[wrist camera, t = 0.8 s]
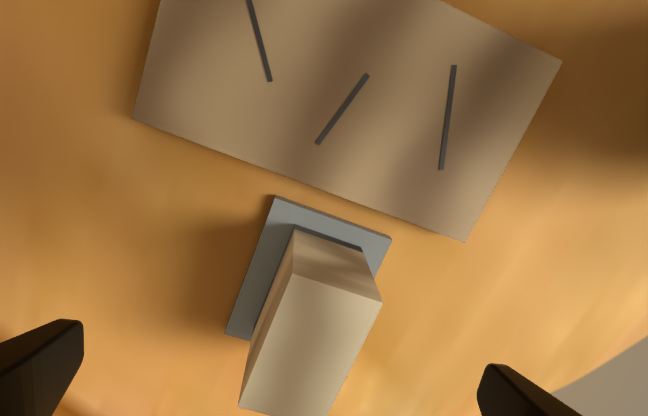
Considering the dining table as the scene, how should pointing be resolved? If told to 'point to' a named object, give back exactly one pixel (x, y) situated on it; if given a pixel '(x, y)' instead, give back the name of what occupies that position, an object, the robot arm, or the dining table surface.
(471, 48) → the oak board
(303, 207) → the mat
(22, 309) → the dining table surface
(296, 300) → the block
